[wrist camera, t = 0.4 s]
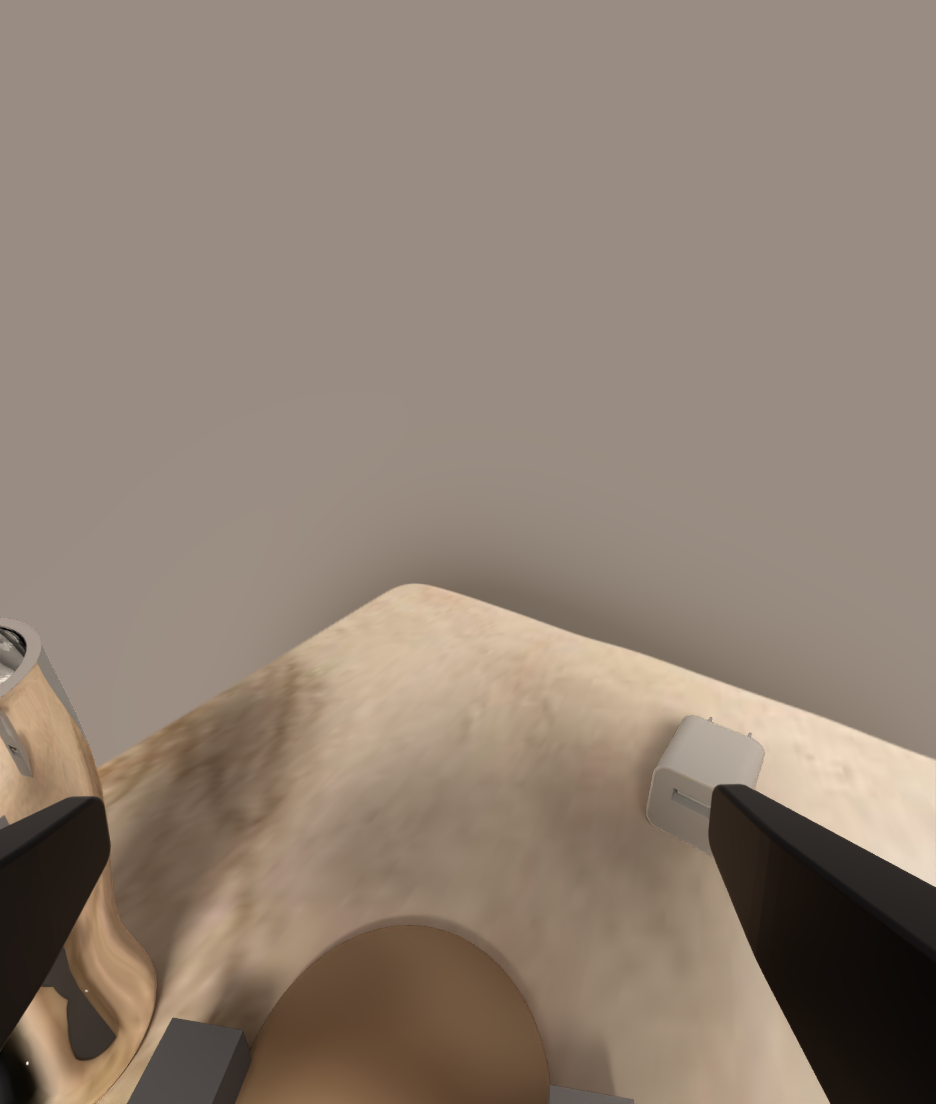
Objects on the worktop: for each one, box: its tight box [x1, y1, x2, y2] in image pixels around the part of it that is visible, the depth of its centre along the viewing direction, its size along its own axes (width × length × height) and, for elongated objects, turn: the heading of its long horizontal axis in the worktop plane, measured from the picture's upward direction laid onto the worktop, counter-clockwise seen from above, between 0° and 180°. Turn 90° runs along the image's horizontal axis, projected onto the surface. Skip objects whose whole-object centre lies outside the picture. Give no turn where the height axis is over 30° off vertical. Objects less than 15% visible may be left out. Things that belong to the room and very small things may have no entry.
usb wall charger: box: [646, 715, 765, 858], centre depth 28 cm, size 4×7×4 cm, turn 143°
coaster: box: [235, 925, 551, 1104], centre depth 18 cm, size 10×10×1 cm
